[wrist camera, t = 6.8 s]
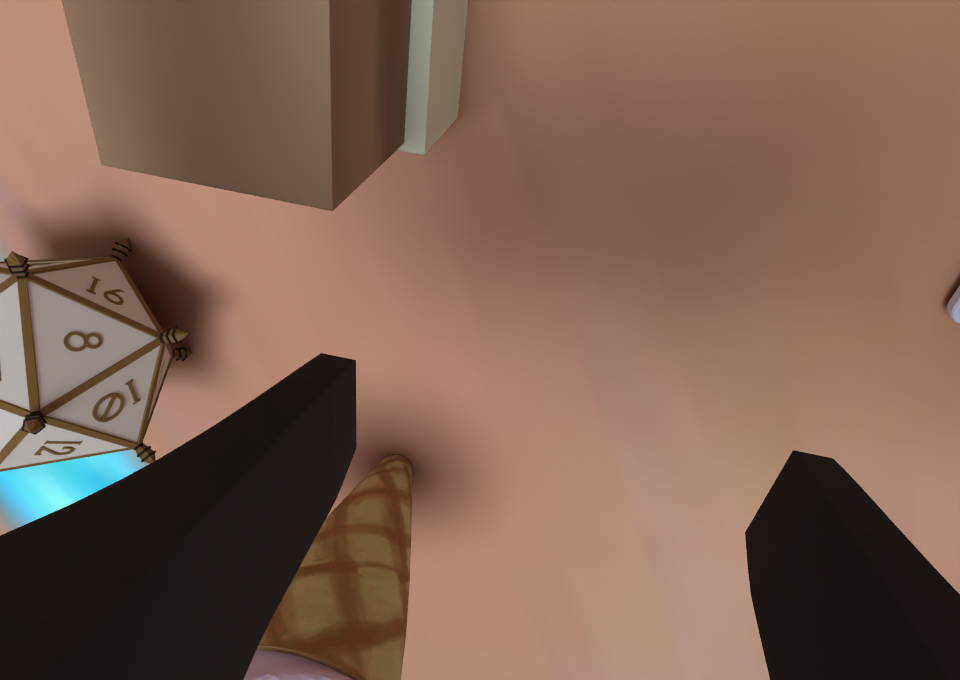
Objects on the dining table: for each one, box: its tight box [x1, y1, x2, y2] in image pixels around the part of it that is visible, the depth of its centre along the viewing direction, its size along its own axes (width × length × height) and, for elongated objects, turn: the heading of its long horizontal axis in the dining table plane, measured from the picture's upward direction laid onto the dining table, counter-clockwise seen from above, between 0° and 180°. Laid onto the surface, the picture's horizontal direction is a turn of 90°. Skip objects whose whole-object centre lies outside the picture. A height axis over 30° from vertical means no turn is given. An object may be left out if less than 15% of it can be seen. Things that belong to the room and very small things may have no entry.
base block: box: [397, 0, 468, 155], centre depth 15 cm, size 6×6×4 cm
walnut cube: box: [62, 0, 412, 211], centre depth 11 cm, size 4×4×4 cm
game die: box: [0, 238, 192, 472], centre depth 21 cm, size 9×8×10 cm
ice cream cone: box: [244, 455, 412, 680], centre depth 20 cm, size 7×6×15 cm
